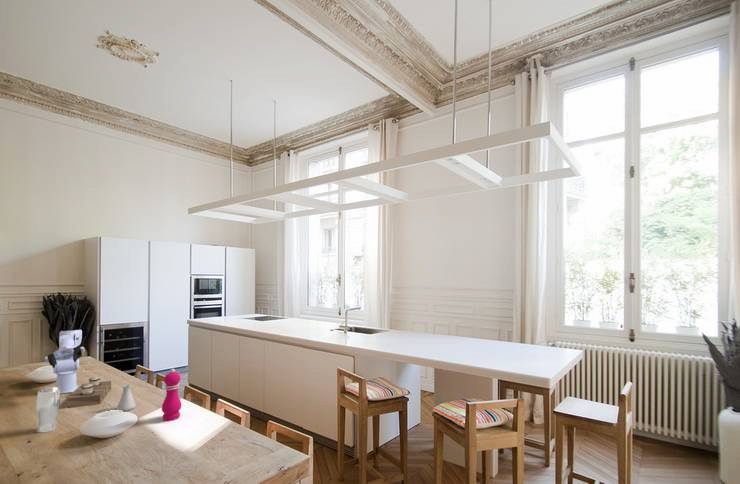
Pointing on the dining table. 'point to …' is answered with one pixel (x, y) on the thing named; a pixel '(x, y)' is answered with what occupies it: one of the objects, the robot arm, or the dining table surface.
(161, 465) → the dining table surface
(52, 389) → the beer glass
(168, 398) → the pepper mill
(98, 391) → the walnut block
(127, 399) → the flask
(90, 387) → the birch peg outer
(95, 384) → the birch peg inner
